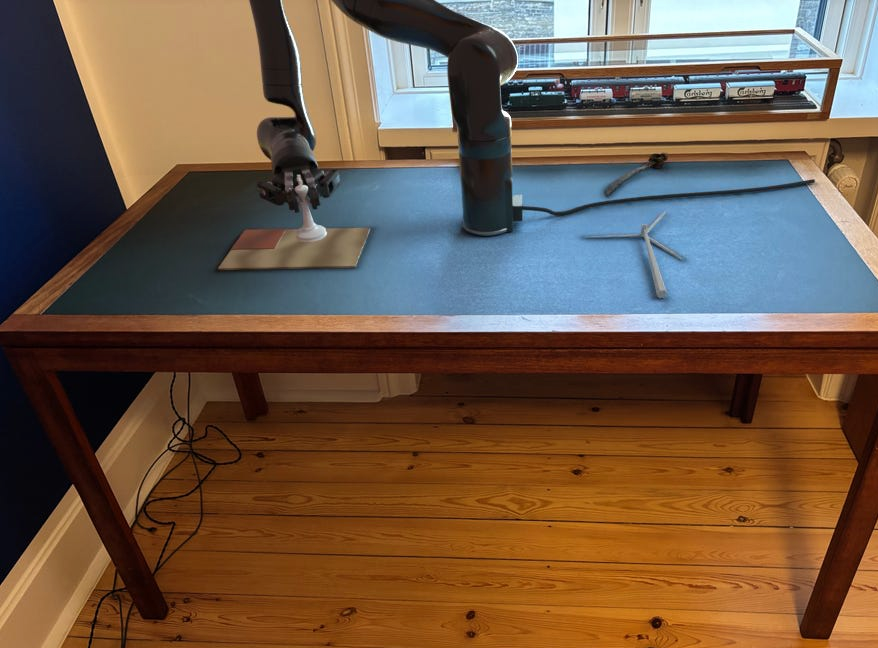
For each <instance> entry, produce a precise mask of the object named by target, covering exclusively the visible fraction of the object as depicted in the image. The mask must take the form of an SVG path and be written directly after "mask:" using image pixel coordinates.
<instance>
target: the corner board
mask: <svg viewBox="0 0 878 648" xmlns="http://www.w3.org/2000/svg"><path fill="white" fill-rule="evenodd" d="M371 228H372V227H337V228H336V227H331V228H330V227H329V228H325V229H326V232H327V235H326V236H325V237H324V238H323V239H321V240H318V241H315V242H300V241H298V240H296V235H295V233H296V231H297V230H298V229H299V228H259V229H258V228H257V229H255V228H254V229H244V230H243V232H242V233H241V234H240V236H239V237H238V239H237V240H236V241H235V243H234V244H233V245H232V247H231V248H230V251H229V252H228V253H227V255H226V256H225V258H223V260H222V262H221V263H220V265H218V267H217V271H248V270H250V271H253V270H304V269H305V270H307V269H311V270H312V269H313V270H315V269H355V268H357V265H358V263H359V260H360V257H361V255H362V253H363V251H364V247H365V245H366V243H367V239H368V237H369V236H370V232H371V231H372V230H371Z"/></svg>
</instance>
